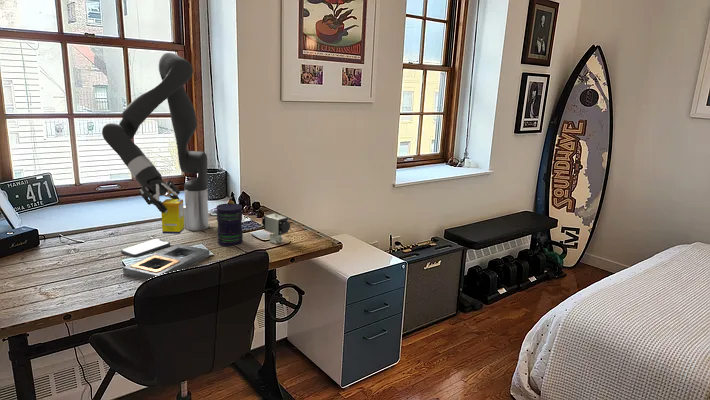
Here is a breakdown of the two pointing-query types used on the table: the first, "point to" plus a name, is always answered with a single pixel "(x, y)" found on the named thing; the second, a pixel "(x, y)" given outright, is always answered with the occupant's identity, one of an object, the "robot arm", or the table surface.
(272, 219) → the pneumatic valve
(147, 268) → the hole rail
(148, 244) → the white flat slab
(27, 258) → the table surface
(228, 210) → the storage jar
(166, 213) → the supplement box
